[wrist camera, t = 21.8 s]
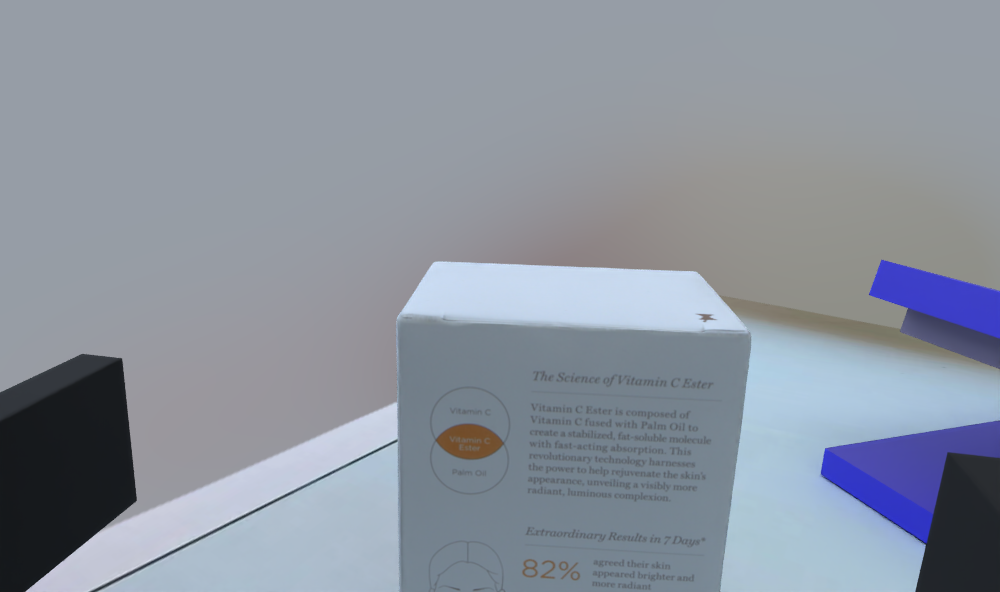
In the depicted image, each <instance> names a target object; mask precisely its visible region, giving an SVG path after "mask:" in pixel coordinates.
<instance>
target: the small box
mask: <svg viewBox="0 0 1000 592" xmlns="http://www.w3.org/2000/svg"><path fill="white" fill-rule="evenodd" d="M396 345H397V346H396V347H397V406H398V535H399V592H720V586H721V577H722V568H723V560H724V552H725V545H726V537H727V530H728V522H729V514H730V507H731V499H732V490H733V484H734V476H735V468H736V461H737V454H738V447H739V440H740V432H741V425H742V416H743V407H744V399H745V390H746V382H747V375H748V368H749V357H750V351H751V334H750V332H749V330H748V329H747V328H746V327H745V325H744V324H743V323H742V322H741V321H740V320H739V318H738V317H737V316H736V315H735V314H734V312H733V311H732V310H731V309H730V308H729V307H728V306H727V304H726V303H725V302H724V301H723V300H722V299H721V298H720V296H719V295H718V294H717V293H716V292H715V291H714V290H713V289H712V288H711V286H710V285H709V284H708V283H707V282H706V281H705V280H704V279H703V277H701V276H700V275H699V273H697V272H695V271H665V270H636V269H616V268H615V269H614V268H591V267H590V268H589V267H566V266H536V265H514V264H489V263H463V262H434V263H433V264H432V265H431V267H430V268H429V270H428V271H427V273H426V275H425V276H424V278H423V279H422V281H421V282H420V284H419V285H418V287H417V289H416V290H415V292H414V293H413V295H412V296H411V298H410V299H409V301H408V302H407V304H406V305H405V307H404V308H403V310H402V311H401V313H400V314H399V316H398V317H397V322H396Z"/></svg>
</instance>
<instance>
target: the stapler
mask: <svg viewBox="0 0 1000 592" xmlns="http://www.w3.org/2000/svg"><path fill="white" fill-rule="evenodd" d="M869 295H871V296H874V297H877V298H880V299H883V300H886V301H889V302H892V303H895V304H898V305H901V306H904V307H907V308H908V310H907V313H906V316H905V319H904V321H903V324H902V327H901V330H900V332H902V333H905V334H907V335H910V336H913V337H915V338H918V339H921V340H923V341H926V342H929V343H931V344H934V345H937V346H939V347H942V348H945V349H948V350H950V351H953V352H956V353H958V354H961V355H964V356H966V357H969V358H972V359H974V360H977V361H980V362H982V363H985V364H988V365H990V366H993V367H996V368H999V369H1000V291H998V290H995V289H991V288H987V287H984V286H980V285H976V284H972V283H968V282H964V281H961V280H957V279H953V278H949V277H945V276H942V275H938V274H934V273H930V272H926V271H922V270H919V269H915V268H911V267H907V266H903V265H900V264H896V263H892V262H888V261H884V260H881V263H880V266H879V268H878V271H877V274H876V277H875V280H874V282H873V285H872V288H871V291H870V293H869ZM947 452H952V453H960V454H969V455H978V456H987V457H996V458H1000V421H994V422H987V423H981V424H975V425H969V426H962V427H956V428H950V429H943V430H937V431H931V432H925V433H918V434H912V435H906V436H899V437H893V438H887V439H881V440H874V441H868V442H862V443H855V444H849V445H843V446H837V447H830V448H825V452H824V458H823V464H822V470H821V475H823V476H824V477H826V478H827V479H829V480H830V481H832V482H833V483H835V484H836V485H838V486H840V487H841V488H843V489H844V490H846V491H847V492H849V493H850V494H852V495H853V496H855V497H856V498H858V499H859V500H861V501H862V502H864V503H865V504H867V505H868V506H870V507H871V508H873V509H875V510H876V511H878V512H879V513H881V514H882V515H884V516H885V517H887V518H888V519H890V520H891V521H893V522H894V523H896V524H897V525H899V526H900V527H902V528H903V529H905V530H907V531H908V532H910V533H911V534H913V535H914V536H916V537H917V538H919V539H920V540H922V541H923V542H925V543H926V544H927V539H928V535H929V531H930V526H931V522H932V518H933V513H934V509H935V505H936V500H937V496H938V491H939V487H940V483H941V478H942V474H943V470H944V465H945V461H946V457H947Z"/></svg>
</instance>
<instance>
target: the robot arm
mask: <svg viewBox="0 0 1000 592" xmlns="http://www.w3.org/2000/svg"><path fill="white" fill-rule="evenodd" d="M136 501H137V498H136V488H135V479H134V470H133V460H132V449H131V440H130V430H129V420H128V411H127V401H126V391H125V382H124V372H123V362H122V358H114V357H105V356H95V355H87V354H81V355H79V356H77V357H75V358H73V359H70V360H68V361H66V362H64V363H62V364H60V365H58V366H56V367H54V368H51V369H49V370H47V371H45V372H43V373H41V374H39V375H37V376H34V377H32V378H30V379H28V380H26V381H24V382H22V383H19V384H17V385H15V386H13V387H11V388H9V389H7V390H5V391H3V392H0V592H25V591H26V590H28V589H29V588H30V587H31V586H33V585H34V584H35V583H36V582H38V581H39V580H40V579H41V578H42V577H44V576H45V575H46V574H47V573H49V572H50V571H51V570H52V569H53V568H55V567H56V566H57V565H58V564H60V563H61V562H62V561H63V560H65V559H66V558H67V557H68V556H69V555H71V554H72V553H73V552H74V551H76V550H77V549H78V548H79V547H81V546H82V545H83V544H84V543H85V542H87V541H88V540H89V539H90V538H92V537H93V536H94V535H95V534H96V533H98V532H99V531H100V530H101V529H103V528H104V527H105V526H106V525H107V524H109V523H110V522H111V521H112V520H114V519H115V518H116V517H117V516H119V515H120V514H121V513H122V512H123V511H125V510H126V509H127V508H128V507H130V506H131V505H132V504H133V503H134V502H136ZM916 592H1000V458H996V457H987V456H978V455H969V454H960V453H952V452H947V457H946V461H945V465H944V470H943V474H942V478H941V483H940V487H939V491H938V496H937V500H936V505H935V509H934V513H933V518H932V522H931V526H930V531H929V535H928V539H927V544H926V548H925V552H924V557H923V561H922V565H921V570H920V574H919V578H918V583H917V587H916Z"/></svg>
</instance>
